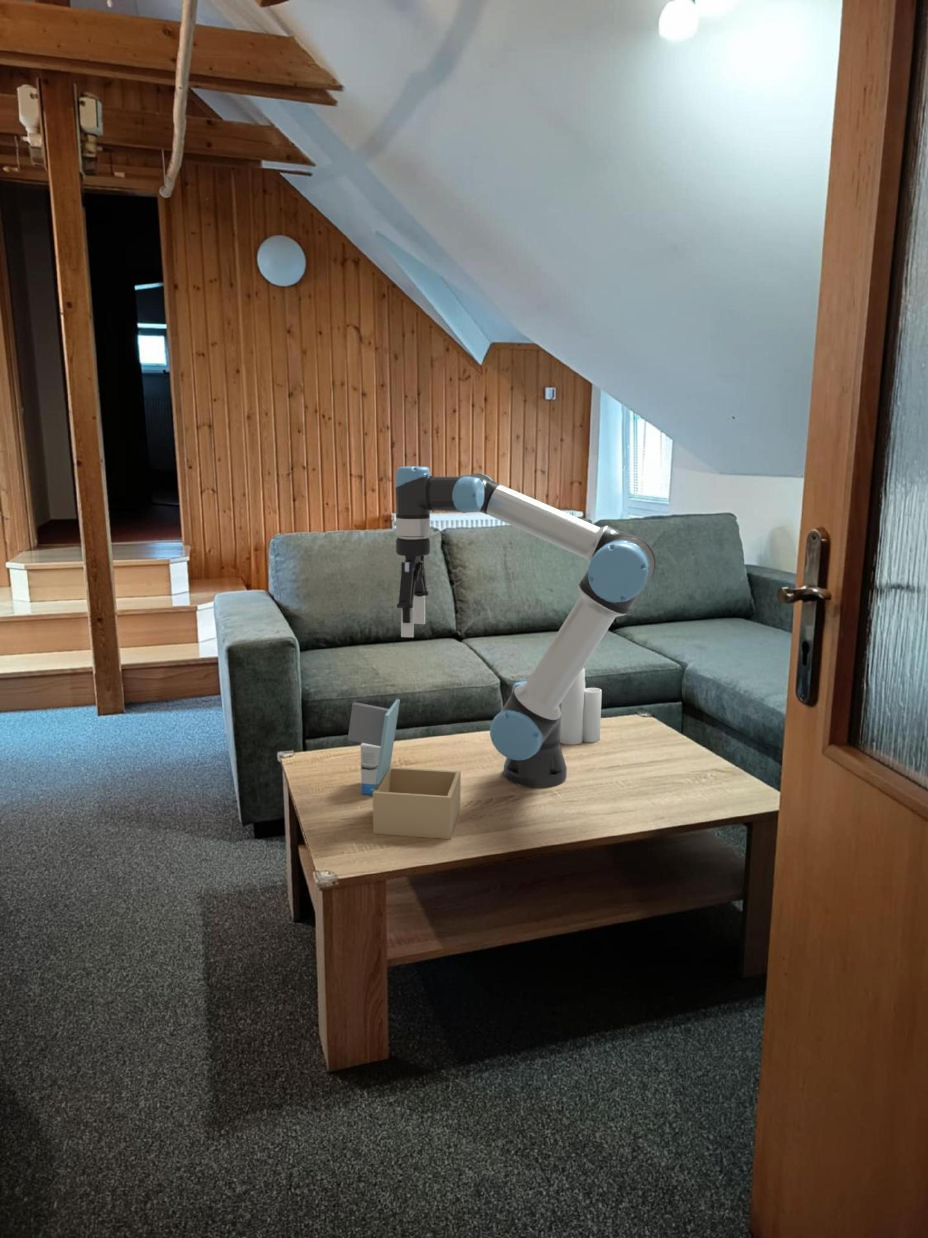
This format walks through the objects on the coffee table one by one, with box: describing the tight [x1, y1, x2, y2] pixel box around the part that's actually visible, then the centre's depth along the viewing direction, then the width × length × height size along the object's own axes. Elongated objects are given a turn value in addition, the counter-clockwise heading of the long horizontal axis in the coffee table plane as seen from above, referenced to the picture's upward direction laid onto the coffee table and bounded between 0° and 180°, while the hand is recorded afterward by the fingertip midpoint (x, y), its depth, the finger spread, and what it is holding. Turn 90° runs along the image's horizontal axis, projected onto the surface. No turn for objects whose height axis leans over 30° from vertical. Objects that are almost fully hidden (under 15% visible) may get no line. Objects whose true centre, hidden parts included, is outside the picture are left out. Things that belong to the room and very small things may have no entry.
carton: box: [372, 766, 462, 840], centre depth 180 cm, size 16×14×9 cm
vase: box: [560, 667, 603, 746], centre depth 229 cm, size 11×7×20 cm, turn 111°
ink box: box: [360, 743, 380, 796], centre depth 197 cm, size 8×5×12 cm, turn 168°
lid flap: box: [347, 698, 401, 790], centre depth 179 cm, size 16×11×9 cm
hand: (413, 630), depth 194 cm, fingers open, 13 cm apart
